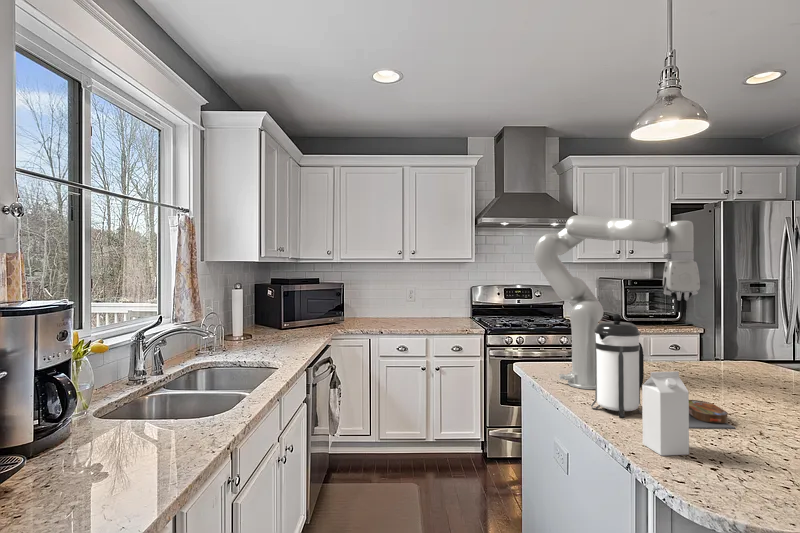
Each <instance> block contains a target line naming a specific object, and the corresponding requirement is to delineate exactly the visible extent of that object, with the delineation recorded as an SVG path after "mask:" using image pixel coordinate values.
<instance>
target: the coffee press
mask: <svg viewBox="0 0 800 533" xmlns="http://www.w3.org/2000/svg"><path fill="white" fill-rule="evenodd" d="M612 319H613V321H611V320H610V321H603V322H600V323H598V325H597V327H596V329H595V330H594V332H595V334H596V341H595V389H594V390H595V395H594V396H595V399H594V401H593V402H592V404H591V409H592V410H594V411H595V410H598V409H599V408H600V407H602V408H603V409H607V410H609V411H610V410H611V411H615V412H617V413H618V418H620V419H625V412H631V411H635V410H637V412H638V413H640V414H642V410H639V409H638V408H639V406H640V407H641V408H642V404H641V388H642V385H643V384H644V378H645V377H644V368H645V365H644V364H645V363H644V359H645V358H644V349H643V346H642V344H641V342H640V336H641V331H640V330H639V328H638V327H637V325H636V324H634V323H632V322H626V321H620V320H621V319H622V317H621V315H620V314H619V313H614V314H613V315H612ZM596 403H597V406H596V407H593V406H594V405H595V404H596Z"/></svg>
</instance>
